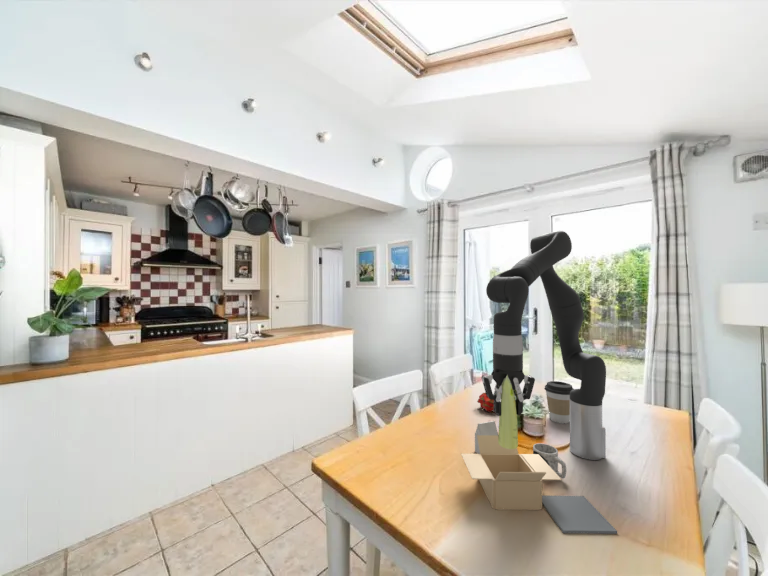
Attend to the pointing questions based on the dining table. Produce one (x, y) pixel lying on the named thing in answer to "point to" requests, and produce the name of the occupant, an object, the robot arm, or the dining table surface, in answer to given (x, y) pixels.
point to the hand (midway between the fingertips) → (508, 414)
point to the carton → (509, 475)
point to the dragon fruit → (486, 402)
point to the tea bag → (484, 432)
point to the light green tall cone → (508, 418)
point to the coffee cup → (558, 401)
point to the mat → (576, 515)
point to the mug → (550, 457)
